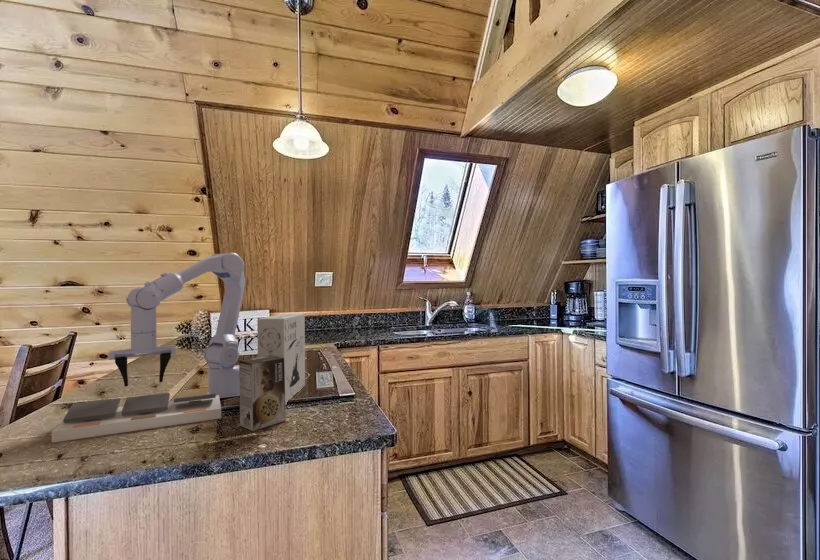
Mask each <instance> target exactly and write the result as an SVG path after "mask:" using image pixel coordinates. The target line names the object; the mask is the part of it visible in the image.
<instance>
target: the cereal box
mask: <svg viewBox="0 0 820 560" xmlns="http://www.w3.org/2000/svg"><path fill="white" fill-rule="evenodd" d="M305 314H306V313H304V312H303V313H296V312H295V313H279V314H274V315H270V316H267V317H266V316H265V317H260V318H258V319H257V357H263V356H269V355H274V356H278V357H282V358H284V368H285V406H286V405H288V404H287V402H288V400H289V399H291V398H292V397H293V396H294V395H295V394H296V393H297V392H299V391H300V390H301V389H302V388H303V387H304V386H305V387H306V347H305V346H306V334H305V333H306V331H305V330H306V329H305V328H306V326H305V325H306V324H305V323H306V322H305V320H306V319H305V318H306V317H305ZM305 387H304V388H305ZM304 388H303V389H304ZM303 389H302V390H303ZM302 390H301V391H302ZM301 391H300V392H301ZM300 392H299V393H300Z"/></svg>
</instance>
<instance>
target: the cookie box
mask: <svg viewBox="0 0 820 560" xmlns="http://www.w3.org/2000/svg"><path fill="white" fill-rule="evenodd" d="M238 361H239V362H238V363H239V364H238V365H239V375H240V396H239V426H240V427H243V428H245V429H247V430H250V431H252V432H254V431H257V430H260V429H264V428H266V427H270V426H273V425H277V424H279V423H283V422H285V421H286V418H287V417H286V405H285V368H284V358H282V357H278V356H274V355H269V356H263V357H258V356H257V357H252V358H247V359H240V360H238Z"/></svg>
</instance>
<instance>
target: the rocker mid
mask: <svg viewBox="0 0 820 560" xmlns="http://www.w3.org/2000/svg"><path fill="white" fill-rule="evenodd" d="M170 394H171V393H170V392H164V393H156V394H146V395H137V396H136V395H135V396H130V397H129V396H128V397H127V396H126V398H125V401H124V404H123V406H122V407H123V409H122V412H121V414H122V416H125V415H133V414H140V413H148V412H156V411H164V410H168V404H169V401H170Z"/></svg>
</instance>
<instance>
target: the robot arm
mask: <svg viewBox="0 0 820 560" xmlns="http://www.w3.org/2000/svg"><path fill="white" fill-rule="evenodd" d="M244 267H245V261H244V260H243V259H242V258H241V255H239V254H238V253H236V252H226V253H214V254H212V255H210V256H206V257H204V258H202V259H201V260H199V261H197V262H195V263H194V264H191V265H190V266H188V267H187V268H185V269H183V270H181V271H179V272H177V273H174V272H162V273H161V274H160V276H159V277H158V278H156V279H154V280H151V281H146V282H145V283H143V285H144V286H143V287H142V286H141V287H135V288H133V289H131V290H130V292H129V293H128V295H127V297H126V298H125V301H126V303H127V305H128V306H129V307H130V348H128V349H119V350H118V349H117V350H110V351H109V360H114V363H115V365H116V366H117V368H118V370H119V373H120V374H121V377H122V380H123V385H124V387H128V386H129V377H128V358H137V357H138V358H139V357H148V356H149V357H150V356H159V375H158V376H159V378H158V379H159V383H163V380H164V375H165V372H166V368H167V366H168V365H169V362H170V360H171V358H172V355H176V346H175V345H171V346H170V345H169V346H168V345H167V346H157V307H158V306H159V305H160V303H161V302H162V301H164V300H166V299H167V298H169V297H171V296H173V295H175V294H177V293H179V292H180V291H183V288H184V284H186V283H188V282H189V281H192V280H195V279H196V278H197V277H200V276H202V275H204V274H206V273H210V272H211V273H212V274H214V275H215V276H217V278H219V279H221V280H222V282H223V283H224V285H225V289H224V293H223V298H222V299H223V300H222V304H221V306H220V307H221V308H220V313H219V317H218V320H217V321H218V322H217V327H216V329H215V330H216V331H215V334H214V335H213V336H212V337H211V338H210V340H209V343H208V346H207V347H206V348H205V350H204V352H203V359H204V360H205V362H206V363H207V366H208V391H207V392H206V394H214V393H215V394H216V395H219V398H220V399H224V398H232V397H238V396H239V397H240V375H239V364H238V365H236V363H237V362H238V361H239V356H240V352H239V341H238V339H237V338H236V335H235V334H236V331H237V326H238V320H239V317H240V312H241V307H242V301H243V297H244V292H245V291H244V290H245V288H246V287H245V286H246V276H245V272H244Z"/></svg>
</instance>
